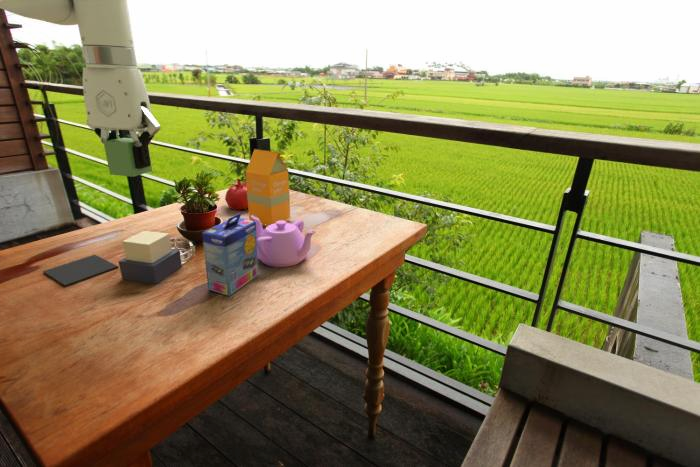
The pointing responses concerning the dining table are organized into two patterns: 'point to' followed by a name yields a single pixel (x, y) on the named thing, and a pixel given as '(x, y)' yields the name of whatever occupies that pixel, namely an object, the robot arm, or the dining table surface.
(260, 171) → the orange juice
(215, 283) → the ink cartridge box
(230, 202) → the pomegranate
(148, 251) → the cream block
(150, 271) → the navy block
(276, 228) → the teapot
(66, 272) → the mat
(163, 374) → the dining table surface
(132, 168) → the green block
